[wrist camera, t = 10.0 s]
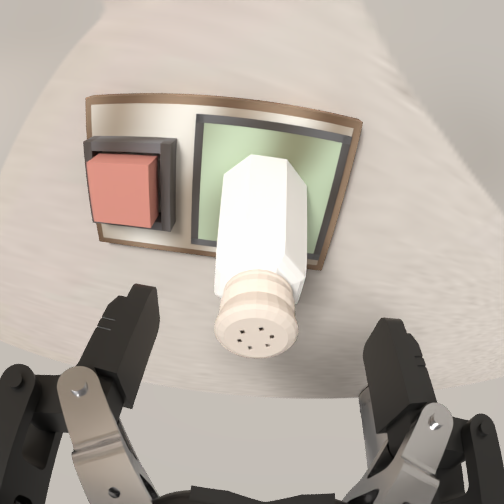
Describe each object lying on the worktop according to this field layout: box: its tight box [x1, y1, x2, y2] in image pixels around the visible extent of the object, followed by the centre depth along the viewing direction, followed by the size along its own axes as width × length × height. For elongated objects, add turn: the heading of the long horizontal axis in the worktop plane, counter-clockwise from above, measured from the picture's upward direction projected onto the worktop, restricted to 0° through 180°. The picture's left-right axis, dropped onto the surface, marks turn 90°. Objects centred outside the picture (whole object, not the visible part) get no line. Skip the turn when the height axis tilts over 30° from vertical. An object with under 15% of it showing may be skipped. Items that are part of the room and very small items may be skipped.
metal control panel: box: [83, 93, 363, 270], centre depth 19 cm, size 17×11×2 cm, turn 83°
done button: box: [87, 153, 159, 228], centre depth 17 cm, size 4×4×2 cm
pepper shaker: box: [214, 154, 307, 359], centre depth 14 cm, size 5×5×11 cm
